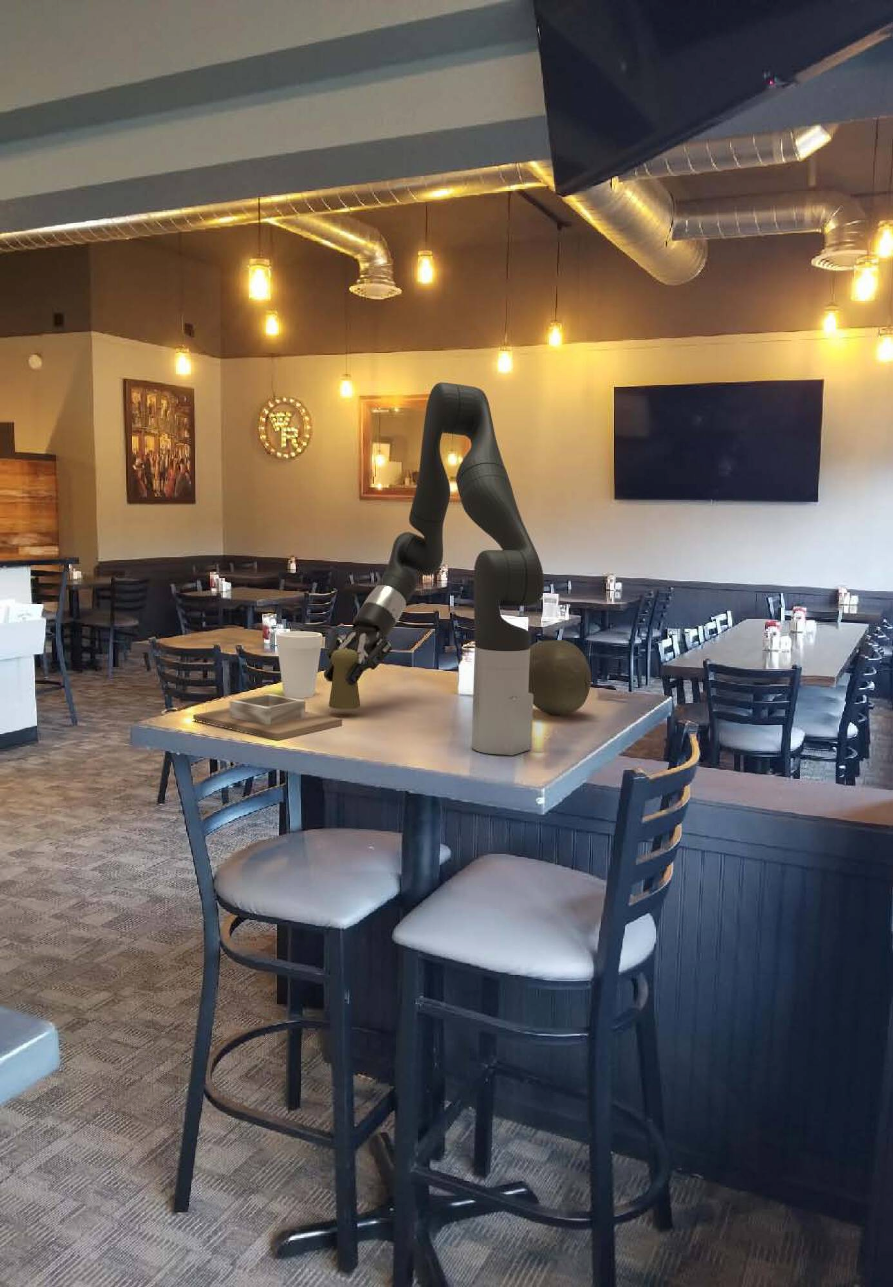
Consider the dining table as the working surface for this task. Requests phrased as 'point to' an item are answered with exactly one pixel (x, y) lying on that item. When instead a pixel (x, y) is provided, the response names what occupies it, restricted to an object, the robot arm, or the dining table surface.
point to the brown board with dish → (269, 717)
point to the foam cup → (299, 662)
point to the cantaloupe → (558, 677)
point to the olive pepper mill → (343, 681)
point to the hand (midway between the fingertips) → (338, 680)
